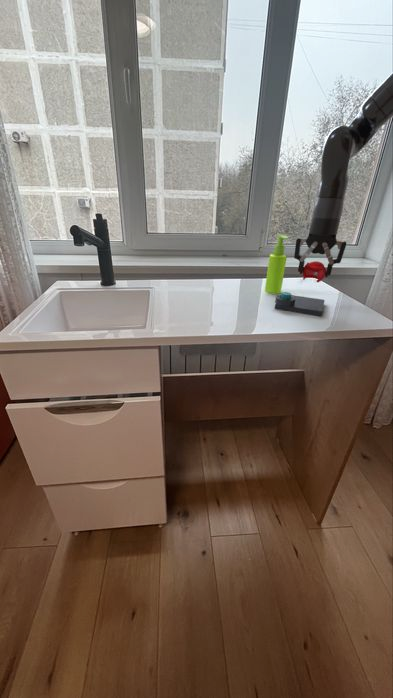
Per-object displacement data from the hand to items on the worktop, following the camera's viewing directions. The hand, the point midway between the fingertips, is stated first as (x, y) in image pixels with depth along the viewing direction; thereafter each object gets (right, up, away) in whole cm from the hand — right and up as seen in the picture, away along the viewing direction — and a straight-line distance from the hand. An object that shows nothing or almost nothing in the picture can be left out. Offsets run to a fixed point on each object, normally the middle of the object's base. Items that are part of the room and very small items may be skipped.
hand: (313, 274), depth 88 cm
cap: (0, -2, +1) cm, 2 cm away
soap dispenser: (-8, -2, +19) cm, 20 cm away
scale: (-2, -9, +5) cm, 11 cm away
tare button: (-8, -7, +2) cm, 11 cm away
